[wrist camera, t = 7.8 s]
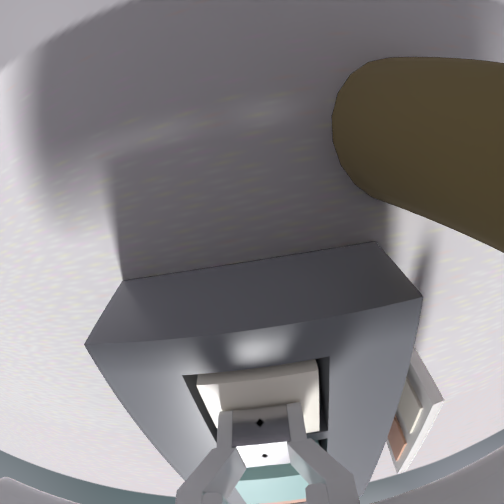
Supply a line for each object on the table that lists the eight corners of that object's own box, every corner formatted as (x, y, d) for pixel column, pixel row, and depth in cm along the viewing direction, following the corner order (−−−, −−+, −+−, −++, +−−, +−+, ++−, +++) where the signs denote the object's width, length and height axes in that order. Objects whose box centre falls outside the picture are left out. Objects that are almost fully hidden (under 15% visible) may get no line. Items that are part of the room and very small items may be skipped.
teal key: (314, 418, 13) (323, 470, 10) (314, 452, 15) (322, 495, 12) (232, 428, 13) (230, 481, 10) (246, 461, 15) (247, 504, 12)
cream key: (304, 315, 12) (318, 370, 9) (308, 380, 14) (319, 430, 11) (204, 329, 12) (196, 385, 9) (226, 391, 14) (223, 442, 11)
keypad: (414, 234, 12) (481, 294, 8) (374, 447, 20) (389, 495, 16) (122, 280, 13) (76, 358, 8) (220, 470, 21) (218, 521, 16)
